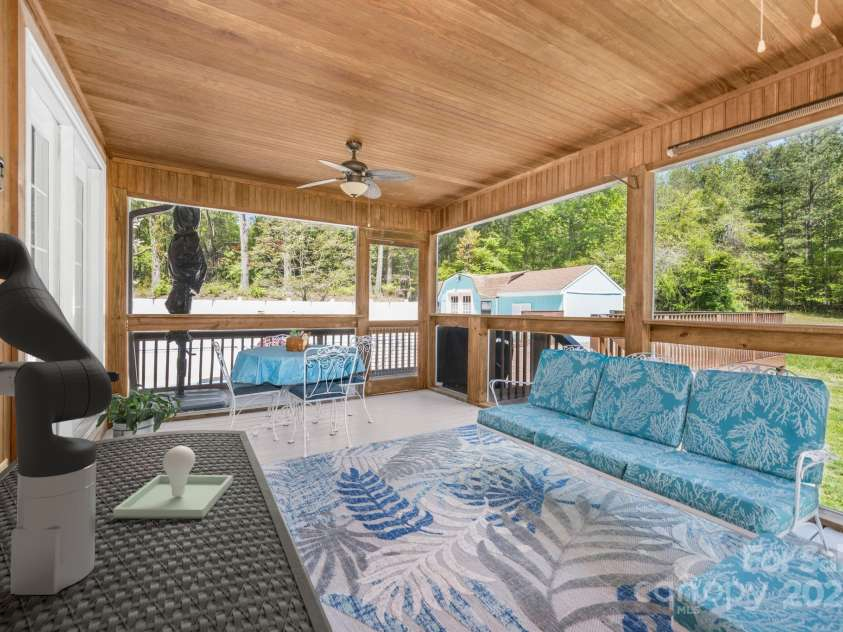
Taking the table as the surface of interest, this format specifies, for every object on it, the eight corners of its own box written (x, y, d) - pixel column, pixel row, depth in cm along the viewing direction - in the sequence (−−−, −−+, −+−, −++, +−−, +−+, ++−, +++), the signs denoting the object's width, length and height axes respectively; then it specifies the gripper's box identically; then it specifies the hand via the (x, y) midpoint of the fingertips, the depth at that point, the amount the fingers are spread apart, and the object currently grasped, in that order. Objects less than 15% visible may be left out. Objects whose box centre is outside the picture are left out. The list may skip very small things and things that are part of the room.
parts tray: (202, 518, 85) (202, 509, 85) (113, 518, 84) (113, 509, 84) (232, 482, 102) (233, 475, 102) (158, 482, 101) (159, 474, 101)
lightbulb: (200, 492, 96) (201, 443, 95) (182, 504, 90) (183, 452, 89) (174, 489, 96) (175, 441, 96) (154, 502, 90) (156, 450, 90)
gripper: (-3, 366, 86) (83, 367, 87) (53, 357, 100) (126, 359, 101) (-3, 403, 86) (83, 404, 87) (52, 389, 100) (125, 390, 102)
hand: (106, 380), depth 94 cm, fingers open, 8 cm apart
